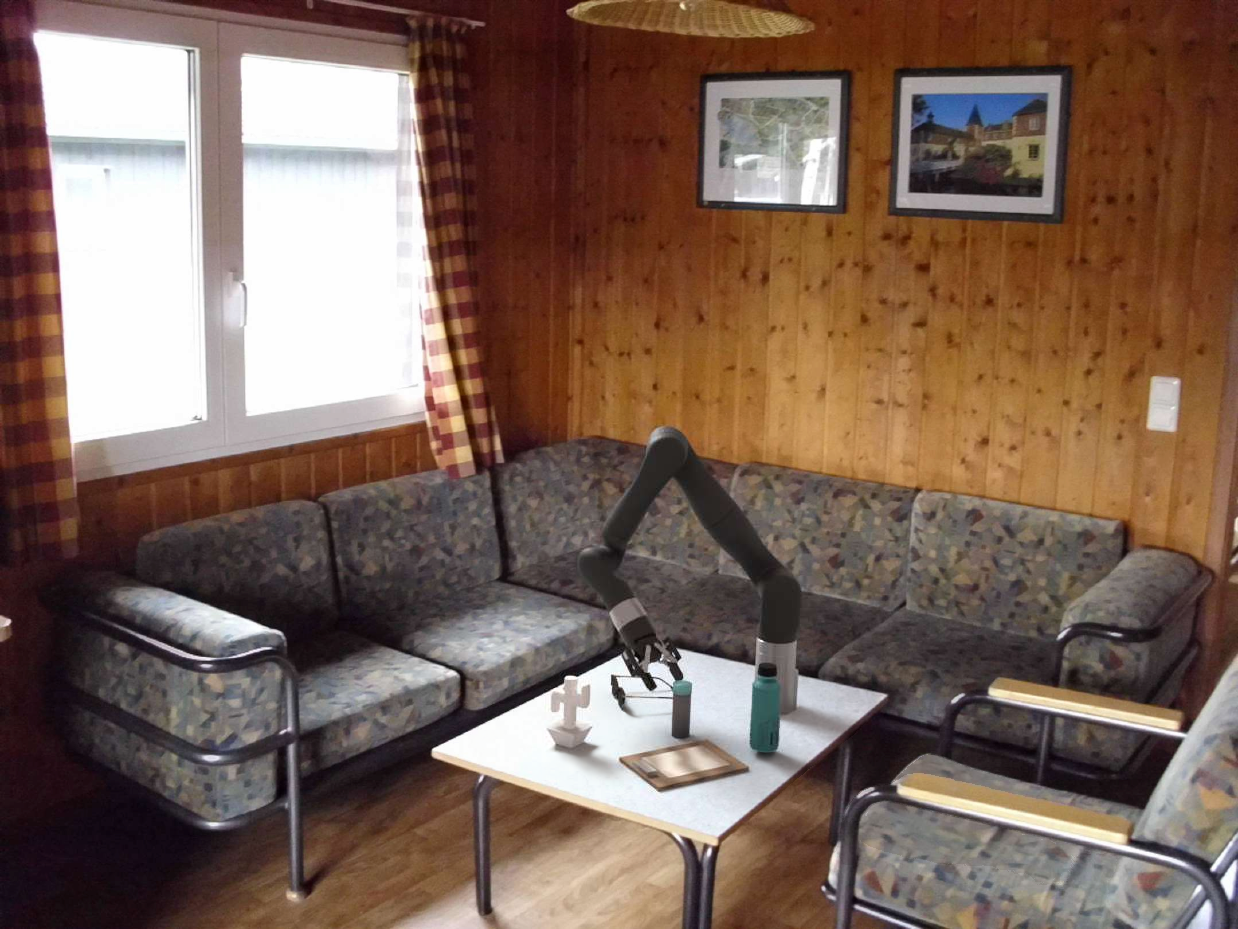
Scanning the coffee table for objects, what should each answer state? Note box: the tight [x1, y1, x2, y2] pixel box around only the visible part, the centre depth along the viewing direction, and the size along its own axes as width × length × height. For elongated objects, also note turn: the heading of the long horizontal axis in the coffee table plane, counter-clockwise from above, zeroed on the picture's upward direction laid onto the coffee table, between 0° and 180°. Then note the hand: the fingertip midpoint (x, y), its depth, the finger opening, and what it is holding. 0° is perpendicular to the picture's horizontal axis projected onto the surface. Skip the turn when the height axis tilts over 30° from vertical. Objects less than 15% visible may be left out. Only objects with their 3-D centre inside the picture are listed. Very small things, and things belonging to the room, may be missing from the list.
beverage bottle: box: [748, 662, 782, 753], centre depth 287 cm, size 6×7×20 cm
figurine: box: [546, 675, 594, 749], centre depth 290 cm, size 7×9×15 cm
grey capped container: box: [671, 679, 693, 740], centre depth 296 cm, size 4×4×12 cm
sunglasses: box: [610, 674, 673, 710], centre depth 317 cm, size 14×16×5 cm
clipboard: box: [618, 738, 750, 792], centre depth 281 cm, size 22×16×2 cm
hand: (667, 685), depth 299 cm, fingers open, 8 cm apart
